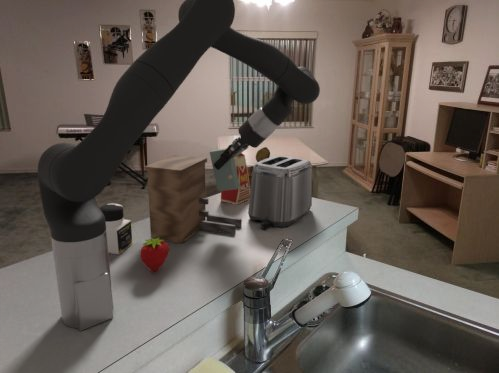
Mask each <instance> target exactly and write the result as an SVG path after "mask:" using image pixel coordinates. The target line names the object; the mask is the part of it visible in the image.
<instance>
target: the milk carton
mask: <svg viewBox="0 0 499 373" xmlns="http://www.w3.org/2000/svg"><path fill="white" fill-rule="evenodd" d="M234 160H235V165H236V170H237V175H238V180H239V185H240V187H239V188H237V189H234V190H225V191H220V202H224V203H228V204H231V203H232V204H231V205H235V204H236V205H235V206H238V205H240V203H241V204H243V203H245V202H244V201H246V200H248V201H249V199H250V184H249V177H248V166H247V161H246V160H247V159H246V155H245V154H244V153H243V152H242V153H241V154H240V155H238V156H237V157H235V158H234ZM242 202H243V203H242ZM246 202H247V201H246ZM237 204H238V205H237Z"/></svg>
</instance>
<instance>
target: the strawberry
mask: <svg viewBox="0 0 499 373" xmlns="http://www.w3.org/2000/svg"><path fill="white" fill-rule="evenodd" d="M159 238H160V237H159ZM159 238H157V239H153V238H151V237H150V239H144V241H146V242H144V243H143V246H142V247H141V249H140V254H139V257H140V260H141V261H142V264H144V266H146V268H147V269H149V270H150V272H152V273H157V272H159V270H160V268H161V267H162V266H163V265H164V263H165V262H166V261H167V259H168V256H169V252H170V247H169V243H167V242H165V240H159Z"/></svg>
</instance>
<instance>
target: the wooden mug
mask: <svg viewBox="0 0 499 373" xmlns="http://www.w3.org/2000/svg"><path fill="white" fill-rule="evenodd" d="M270 157H271V151H270V149H269V148H268V147H267V146H264V147H262V148H260V149H259V150H257V152H256V153H255V160H256V163H257V162H260V161H262V160H264V159H267V158H270ZM253 167H254V165H250V166H247V170H248V177H249V184H250V189H251V179H252V170H253Z"/></svg>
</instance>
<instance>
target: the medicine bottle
mask: <svg viewBox="0 0 499 373" xmlns="http://www.w3.org/2000/svg"><path fill="white" fill-rule="evenodd" d="M99 208H100V210H101V211H102V212H103V214H104V216H105V221H106V233H107V245H108V254H110V255H111V254H112V255H121V254H122V253H123V252H124V251H125V250H126V249H128V248H129V247H130V246H132V244H133V234H132V231H133V230H132V220H131V219H125V217H124V207H123V205H122V204H118V203H107V204H104V205H101V206H99Z"/></svg>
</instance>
